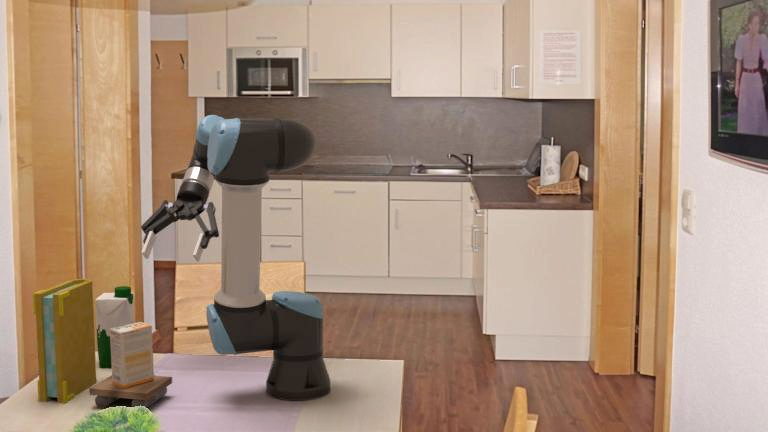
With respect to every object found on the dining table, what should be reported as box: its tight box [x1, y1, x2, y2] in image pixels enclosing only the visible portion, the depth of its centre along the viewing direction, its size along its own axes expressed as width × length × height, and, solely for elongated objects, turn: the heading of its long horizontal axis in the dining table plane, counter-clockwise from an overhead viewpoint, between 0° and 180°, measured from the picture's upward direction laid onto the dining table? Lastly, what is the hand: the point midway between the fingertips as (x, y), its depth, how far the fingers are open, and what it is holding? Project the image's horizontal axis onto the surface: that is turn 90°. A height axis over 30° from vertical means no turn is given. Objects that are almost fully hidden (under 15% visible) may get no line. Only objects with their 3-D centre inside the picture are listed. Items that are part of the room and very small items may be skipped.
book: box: [32, 278, 97, 404], centre depth 216 cm, size 17×7×25 cm, turn 168°
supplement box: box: [110, 321, 155, 389], centre depth 209 cm, size 8×5×13 cm, turn 138°
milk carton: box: [94, 285, 135, 369], centre depth 237 cm, size 9×9×20 cm
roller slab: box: [88, 374, 173, 409], centre depth 210 cm, size 14×12×4 cm
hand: (170, 257), depth 226 cm, fingers open, 13 cm apart
